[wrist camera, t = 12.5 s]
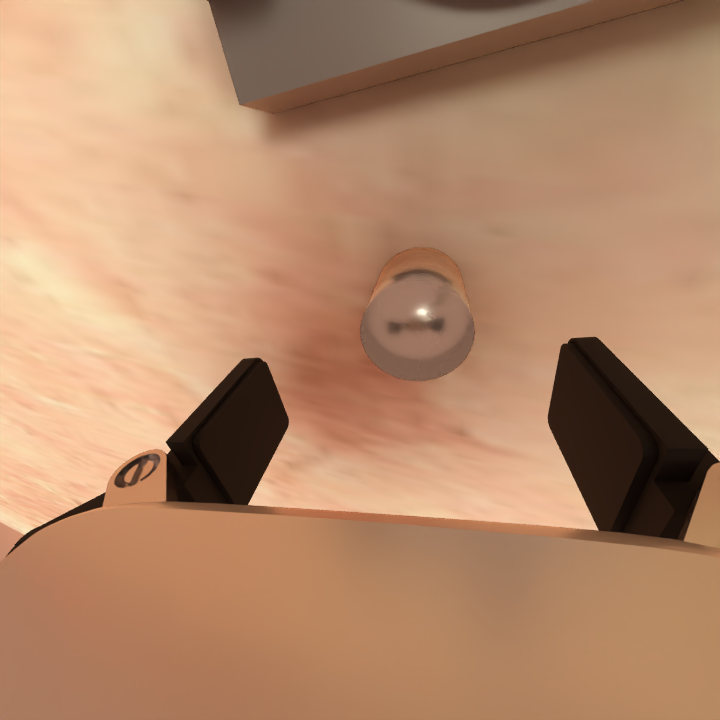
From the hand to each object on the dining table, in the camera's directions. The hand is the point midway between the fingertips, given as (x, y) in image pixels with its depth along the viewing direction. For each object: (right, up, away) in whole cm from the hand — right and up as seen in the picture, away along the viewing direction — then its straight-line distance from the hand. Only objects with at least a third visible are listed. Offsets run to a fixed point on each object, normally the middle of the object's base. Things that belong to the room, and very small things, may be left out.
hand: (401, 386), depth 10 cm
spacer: (+2, +5, +6) cm, 8 cm away
